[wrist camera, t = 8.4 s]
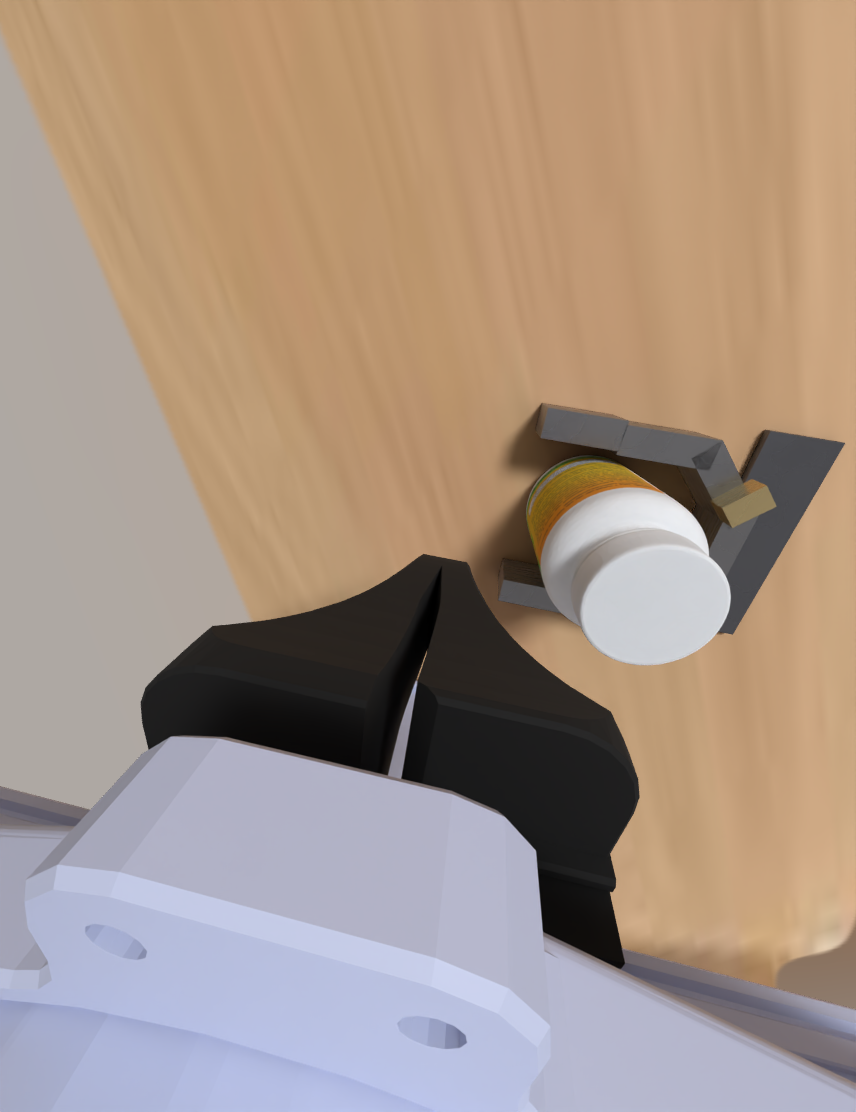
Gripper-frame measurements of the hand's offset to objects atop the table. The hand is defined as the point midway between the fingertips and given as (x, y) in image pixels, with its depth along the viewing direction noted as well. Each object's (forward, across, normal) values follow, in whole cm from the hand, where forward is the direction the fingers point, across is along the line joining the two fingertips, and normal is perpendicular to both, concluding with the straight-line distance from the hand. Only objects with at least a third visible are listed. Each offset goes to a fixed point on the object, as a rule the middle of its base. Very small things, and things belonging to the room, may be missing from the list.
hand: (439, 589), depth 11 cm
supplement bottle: (+11, -6, 0) cm, 12 cm away
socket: (+10, -9, 0) cm, 14 cm away
